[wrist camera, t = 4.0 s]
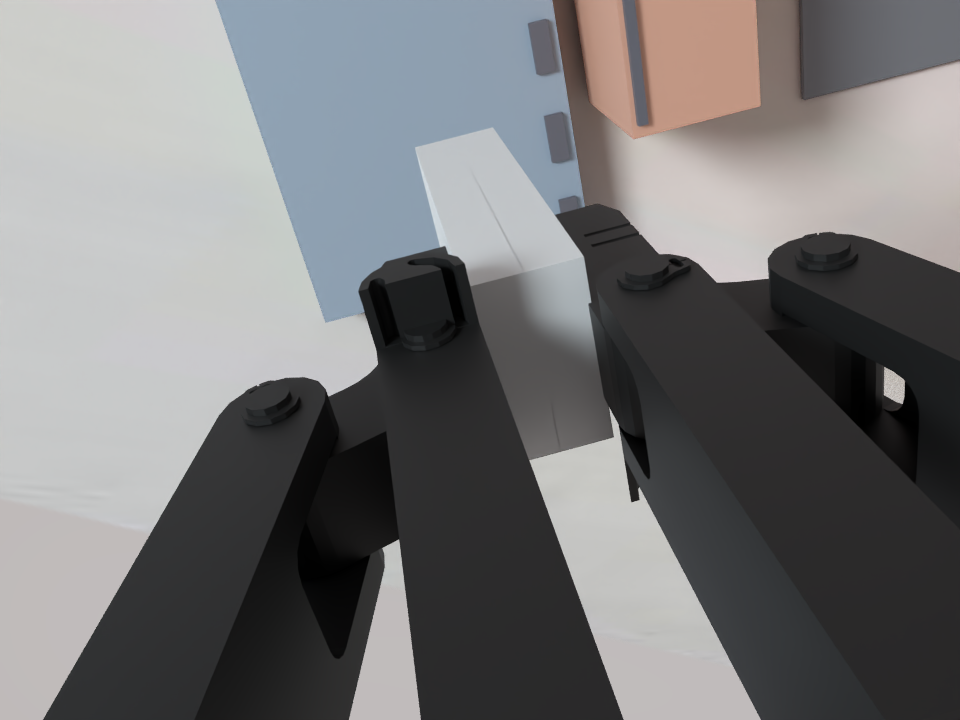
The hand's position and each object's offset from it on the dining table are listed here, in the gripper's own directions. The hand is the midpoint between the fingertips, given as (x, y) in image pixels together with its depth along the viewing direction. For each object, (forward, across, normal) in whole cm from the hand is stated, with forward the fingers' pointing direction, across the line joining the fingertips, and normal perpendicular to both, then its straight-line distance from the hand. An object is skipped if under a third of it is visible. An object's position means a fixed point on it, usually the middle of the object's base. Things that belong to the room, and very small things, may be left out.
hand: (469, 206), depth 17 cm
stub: (+15, +8, 0) cm, 17 cm away
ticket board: (+15, 0, -2) cm, 15 cm away
